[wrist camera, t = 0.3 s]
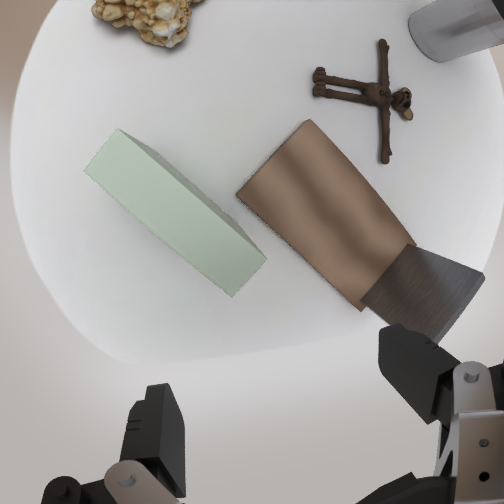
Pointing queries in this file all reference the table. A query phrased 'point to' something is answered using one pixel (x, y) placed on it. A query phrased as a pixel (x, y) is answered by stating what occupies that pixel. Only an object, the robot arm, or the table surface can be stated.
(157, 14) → the mineral formation
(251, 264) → the sage book
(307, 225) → the walnut shelf board
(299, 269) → the table surface
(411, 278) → the grey metal bookend
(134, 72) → the table surface
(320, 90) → the wooden monkey figure
